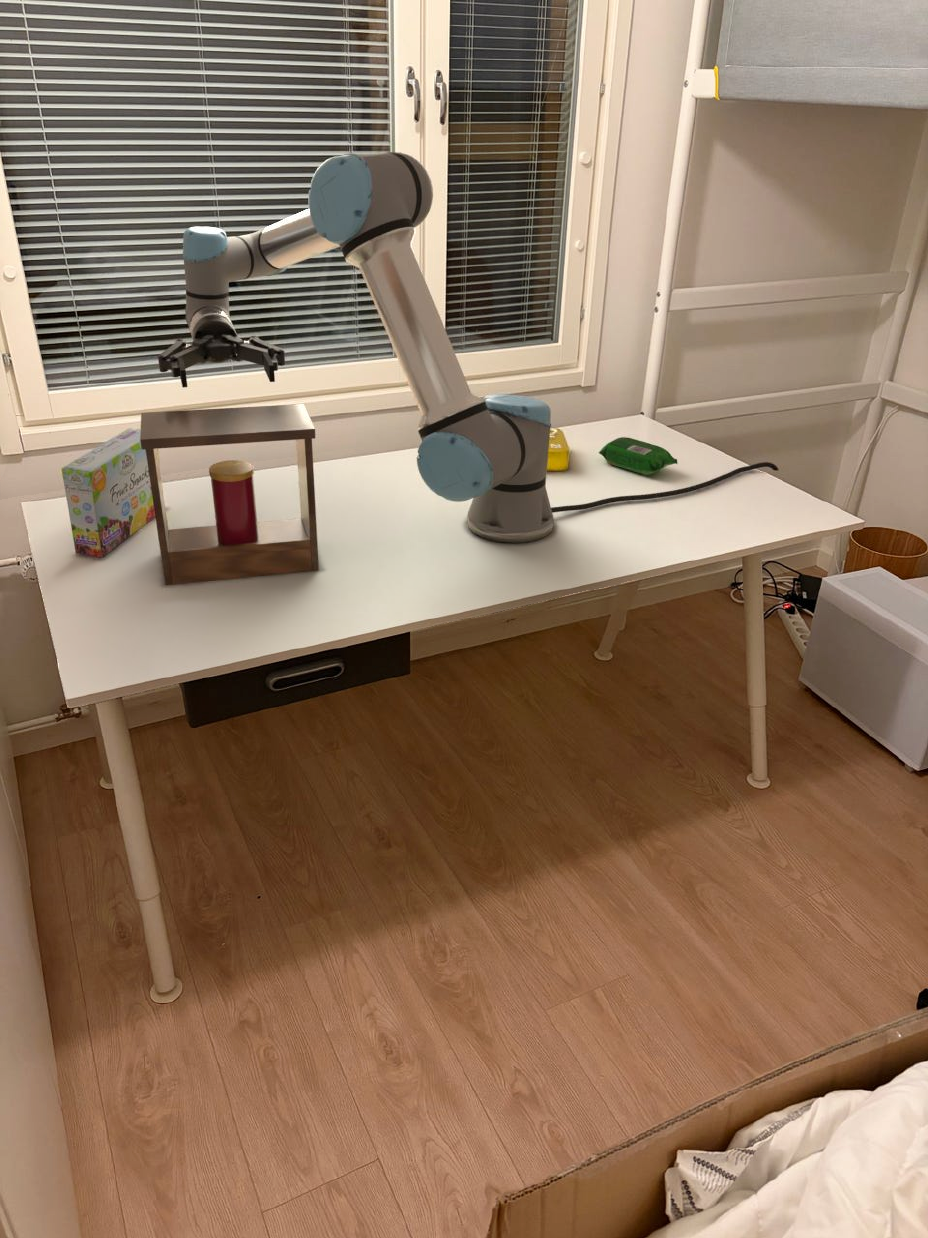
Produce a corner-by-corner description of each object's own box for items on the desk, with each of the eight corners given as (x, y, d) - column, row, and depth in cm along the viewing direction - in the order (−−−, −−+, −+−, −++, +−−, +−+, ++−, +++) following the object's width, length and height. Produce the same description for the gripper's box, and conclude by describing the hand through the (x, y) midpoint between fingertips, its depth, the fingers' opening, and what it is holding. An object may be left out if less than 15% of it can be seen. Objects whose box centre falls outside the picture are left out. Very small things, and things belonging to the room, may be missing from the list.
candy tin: (257, 528, 154) (251, 458, 148) (261, 545, 148) (255, 473, 142) (215, 531, 152) (207, 461, 146) (218, 549, 147) (209, 477, 141)
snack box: (106, 559, 151) (90, 471, 144) (74, 555, 152) (57, 467, 145) (167, 509, 170) (156, 428, 162) (139, 505, 170) (126, 425, 163)
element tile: (492, 445, 204) (492, 424, 202) (560, 446, 205) (562, 425, 202) (496, 470, 191) (497, 447, 189) (569, 471, 192) (571, 449, 189)
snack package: (658, 483, 188) (661, 458, 185) (595, 462, 197) (598, 438, 194) (677, 474, 192) (681, 450, 190) (615, 454, 202) (618, 431, 199)
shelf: (311, 538, 161) (303, 403, 149) (322, 570, 150) (315, 428, 139) (161, 551, 154) (141, 412, 143) (162, 586, 144) (140, 439, 132)
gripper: (286, 353, 170) (308, 393, 154) (142, 360, 163) (149, 404, 146) (284, 311, 166) (306, 348, 149) (136, 317, 159) (142, 357, 142)
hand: (228, 376), depth 148 cm, fingers open, 13 cm apart
